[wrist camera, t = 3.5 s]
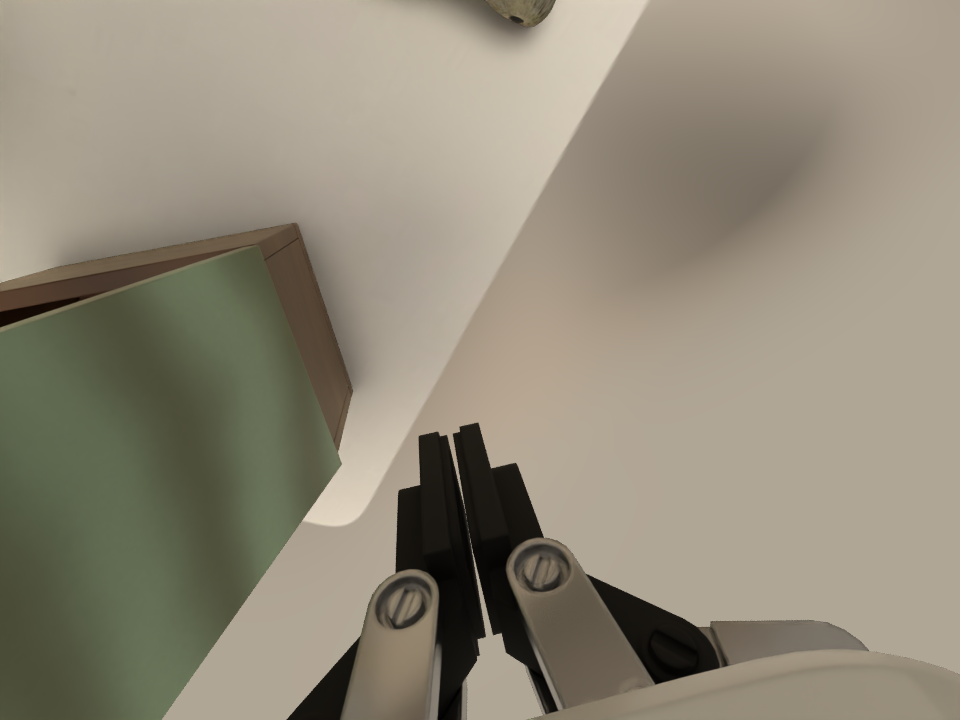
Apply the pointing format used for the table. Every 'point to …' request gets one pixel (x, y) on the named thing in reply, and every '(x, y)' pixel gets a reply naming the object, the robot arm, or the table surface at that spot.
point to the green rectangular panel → (146, 483)
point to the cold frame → (275, 243)
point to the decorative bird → (523, 10)
